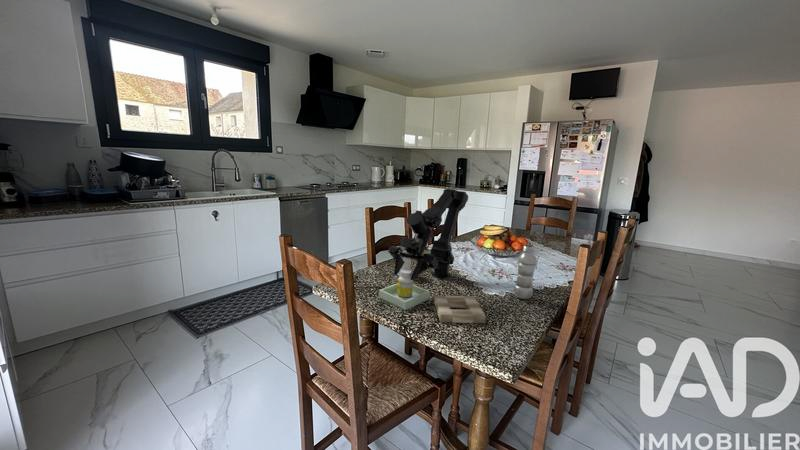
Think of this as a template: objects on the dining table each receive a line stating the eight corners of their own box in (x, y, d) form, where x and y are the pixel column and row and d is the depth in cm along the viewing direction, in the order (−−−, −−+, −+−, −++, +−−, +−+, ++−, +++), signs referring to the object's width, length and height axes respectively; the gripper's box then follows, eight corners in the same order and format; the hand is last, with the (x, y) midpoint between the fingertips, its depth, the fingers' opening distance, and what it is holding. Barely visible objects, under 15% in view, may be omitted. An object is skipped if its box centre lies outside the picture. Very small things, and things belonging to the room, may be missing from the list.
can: (408, 277, 133) (409, 250, 130) (393, 276, 134) (394, 249, 132) (411, 272, 139) (412, 246, 137) (397, 271, 140) (398, 245, 138)
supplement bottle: (399, 292, 116) (400, 267, 114) (413, 294, 115) (415, 269, 113) (395, 298, 111) (397, 272, 109) (410, 300, 110) (412, 274, 108)
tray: (403, 288, 122) (403, 280, 122) (429, 299, 113) (430, 291, 113) (378, 297, 113) (379, 289, 112) (404, 310, 104) (405, 302, 104)
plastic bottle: (509, 295, 119) (515, 244, 115) (522, 292, 122) (529, 243, 118) (521, 302, 113) (528, 249, 109) (535, 299, 116) (542, 247, 112)
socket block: (434, 302, 111) (434, 295, 111) (473, 302, 112) (473, 296, 111) (440, 322, 97) (440, 314, 97) (484, 323, 98) (485, 315, 97)
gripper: (391, 224, 116) (372, 260, 110) (436, 232, 106) (418, 272, 99) (402, 241, 124) (385, 275, 118) (445, 249, 114) (428, 287, 107)
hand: (403, 277), depth 110 cm, fingers open, 7 cm apart
